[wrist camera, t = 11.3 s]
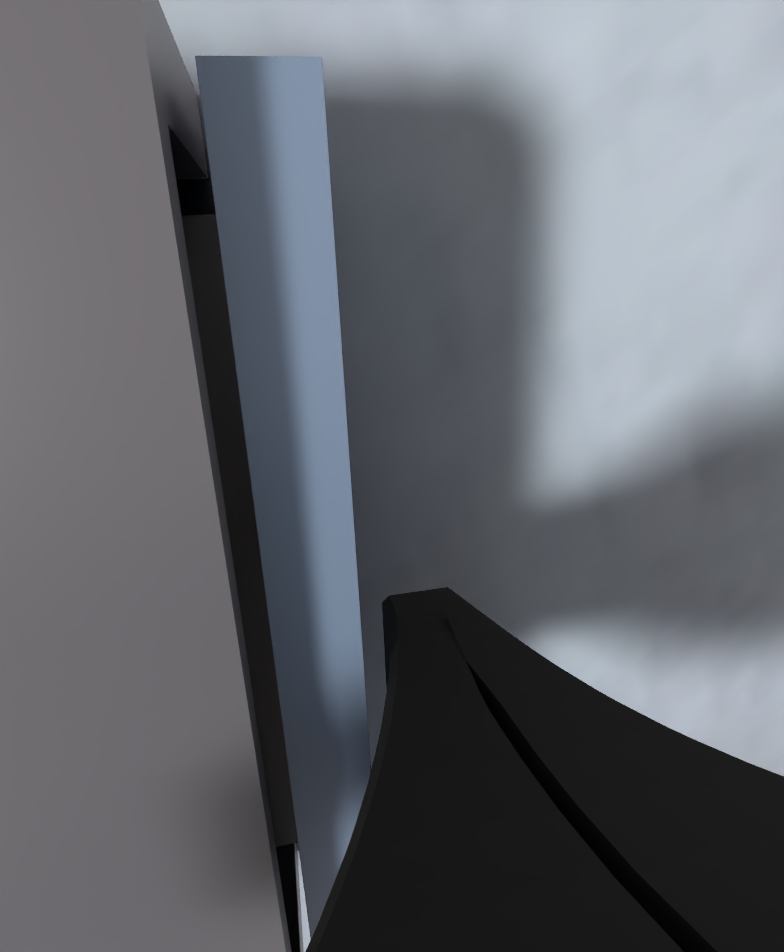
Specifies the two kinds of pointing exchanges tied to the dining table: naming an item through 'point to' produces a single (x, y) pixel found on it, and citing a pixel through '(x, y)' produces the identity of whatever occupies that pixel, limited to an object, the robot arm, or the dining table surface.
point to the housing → (116, 520)
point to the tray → (284, 442)
